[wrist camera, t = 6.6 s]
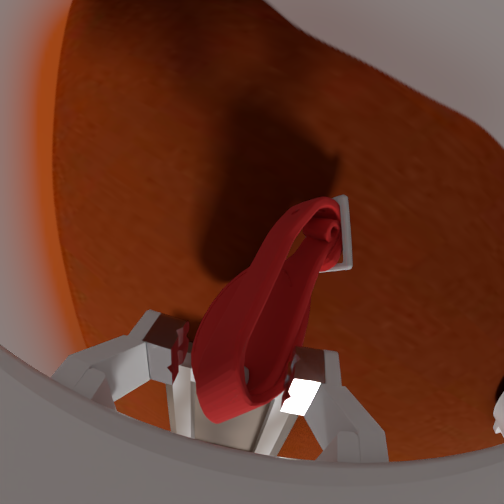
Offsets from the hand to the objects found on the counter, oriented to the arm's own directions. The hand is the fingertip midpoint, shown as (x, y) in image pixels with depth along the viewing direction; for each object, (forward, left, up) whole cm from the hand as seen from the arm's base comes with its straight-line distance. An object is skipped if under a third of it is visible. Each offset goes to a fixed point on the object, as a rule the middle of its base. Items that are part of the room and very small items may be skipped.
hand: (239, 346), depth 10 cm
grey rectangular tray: (0, +18, -9) cm, 20 cm away
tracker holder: (+1, 0, -9) cm, 9 cm away
